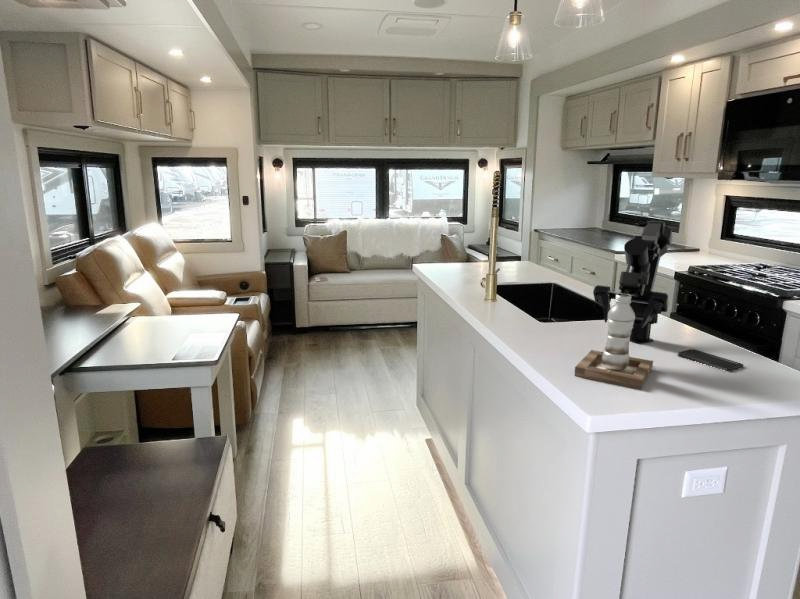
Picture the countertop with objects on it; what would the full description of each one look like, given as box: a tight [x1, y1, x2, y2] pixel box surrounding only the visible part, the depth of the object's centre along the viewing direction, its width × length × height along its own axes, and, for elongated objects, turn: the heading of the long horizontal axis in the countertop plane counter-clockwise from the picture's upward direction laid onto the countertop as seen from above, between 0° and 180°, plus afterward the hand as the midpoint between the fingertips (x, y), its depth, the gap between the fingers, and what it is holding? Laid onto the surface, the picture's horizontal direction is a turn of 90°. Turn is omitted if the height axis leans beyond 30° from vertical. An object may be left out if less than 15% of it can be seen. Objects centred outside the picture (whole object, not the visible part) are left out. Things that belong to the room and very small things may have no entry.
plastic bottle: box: [602, 293, 635, 371], centre depth 140 cm, size 6×7×20 cm
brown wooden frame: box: [574, 349, 654, 390], centre depth 142 cm, size 16×16×3 cm
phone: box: [677, 348, 744, 372], centre depth 151 cm, size 8×1×15 cm
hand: (623, 324), depth 145 cm, fingers open, 9 cm apart
